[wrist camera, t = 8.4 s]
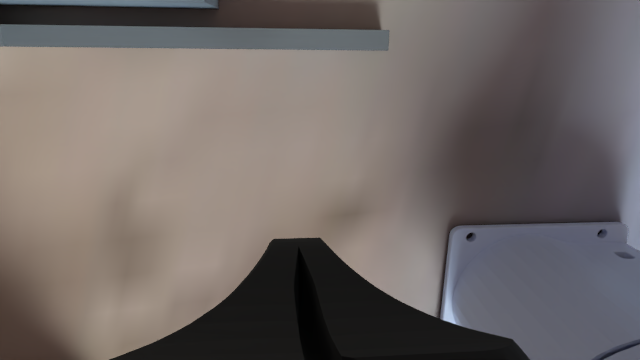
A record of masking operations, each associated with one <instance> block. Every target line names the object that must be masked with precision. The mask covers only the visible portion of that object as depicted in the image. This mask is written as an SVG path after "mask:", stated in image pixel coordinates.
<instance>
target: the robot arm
mask: <svg viewBox="0 0 640 360" xmlns="http://www.w3.org/2000/svg"><path fill="white" fill-rule="evenodd" d="M600 230H602V231H601V233H600V234H599V235H597V234H598V232H599V231H600ZM471 232H472V233H473V235H472V237H471V238H469V239H466V236H467V235H468V234H469V233H471ZM628 234H629V228H628V226H626V225H625V224H623V223H621V222H589V223H547V224H505V225H463V226H456V227H454V228H453V229H452V230H451V231H450V235H449V243H448V252H447V261H446V270H445V279H444V289H443V298H442V307H441V316H440V319H439V318H436V317H434V316H431V315H428V314H426V313H424V312H422V311H419V310H417V309H415V308H413V307H411V306H408V305H406V304H404V303H402V302H400V301H398V300H397V299H395V298H393V297H391V296H390V295H388V294H386V293H385V292H383V291H381V290H380V289H378V288H377V287H375V286H374V285H372V284H371V283H369V282H368V281H367V280H365V279H364V278H363V277H361V276H360V275H359V274H357V273H356V272H355V271H354V270H352V269H351V268H350V267H349V266H348V265H347V264H346V263H344V262H343V261H342V260H341V259H340V258H339V257H338V256H337V255H336V254H335V253H334V252H333V251H332V250H331V249H330V248H329V247H328V246H327V244H326V243H325V242H324V241H323V240H322V239H321V238H294V239H273V240H272V241H271V242H270V243H269V246H268V247H267V249H266V251H265V253H264V254H263V256H262V257H261V259H260V260H259V262H258V263H257V264H256V266H255V267H254V268H253V270H252V271H251V272H250V274H249V275H248V276H247V277H246V278H245V279H244V280H243V281H242V283H241V284H240V285H239V286H238V287H237V288H236V289H235V290H234V291H233V292H232V293H231V294H230V295H229V296H228V297H227V298H226V299H225V300H223V301H222V302H221V303H220V304H218V305H217V306H216V307H215V308H213V309H212V310H210V311H209V312H207V313H206V314H204V315H203V316H201V317H200V318H198V319H197V320H195V321H194V322H192V323H191V324H189V325H187V326H185V327H184V328H182V329H180V330H178V331H176V332H174V333H172V334H170V335H168V336H166V337H164V338H162V339H160V340H158V341H156V342H154V343H151V344H149V345H146V346H144V347H141V348H139V349H136V350H134V351H131V352H129V353H126V354H123V355H121V356H118V357H115V358H112V359H110V360H640V251H638V250H636V249H635V248H633V247H631V246H630V245H628V244H626V242H627V238H628Z"/></svg>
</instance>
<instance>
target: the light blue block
mask: <svg viewBox="0 0 640 360" xmlns="http://www.w3.org/2000/svg"><path fill="white" fill-rule="evenodd" d="M0 5H43V6H95V7H147V8H199V9H219V5H218V0H0Z"/></svg>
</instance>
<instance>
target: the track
mask: <svg viewBox="0 0 640 360" xmlns="http://www.w3.org/2000/svg"><path fill="white" fill-rule="evenodd" d="M388 45H389V30H351V29H283V28H216V27H149V26H82V25H15V24H0V46H20V47H112V48H204V49H296V50H388Z"/></svg>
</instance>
